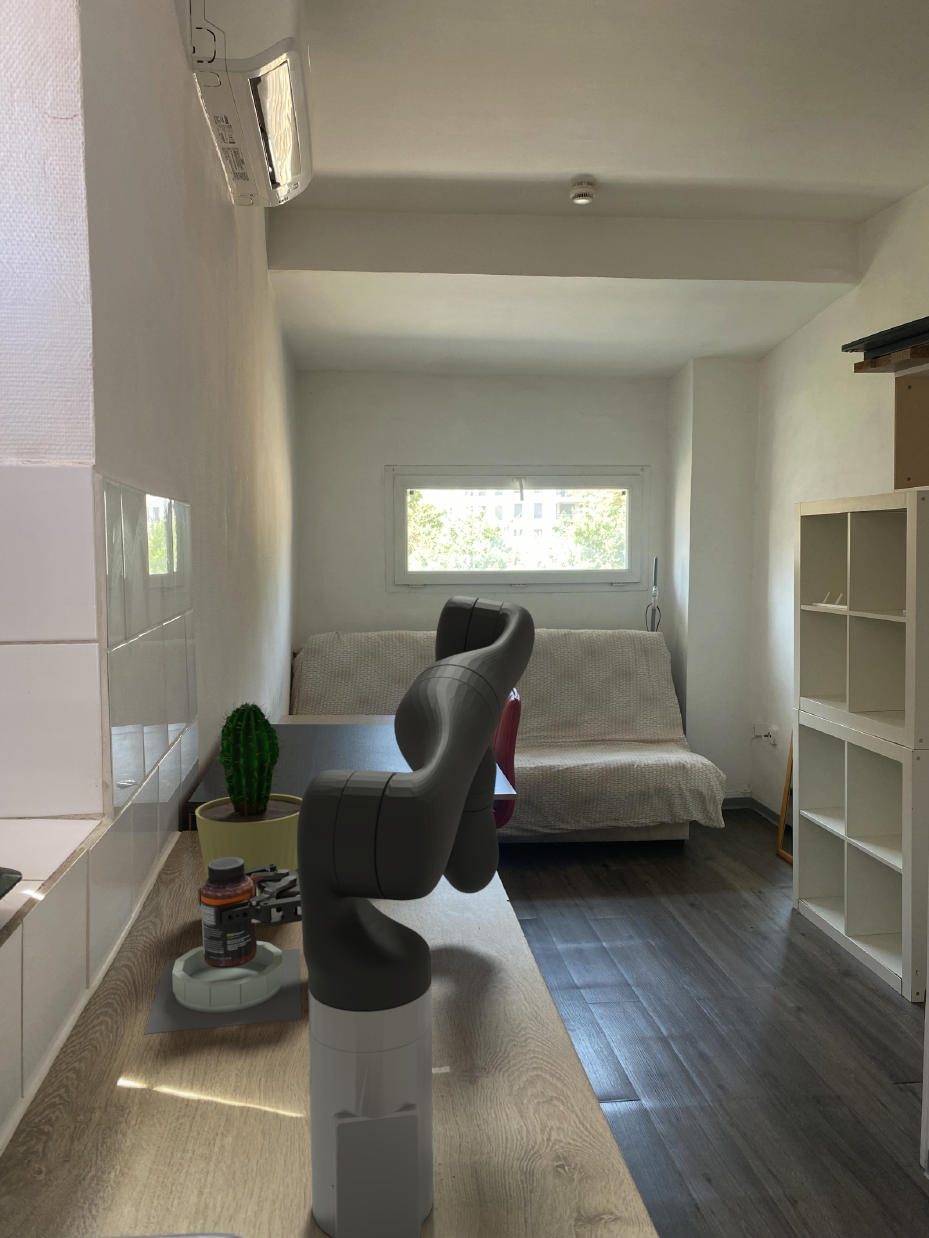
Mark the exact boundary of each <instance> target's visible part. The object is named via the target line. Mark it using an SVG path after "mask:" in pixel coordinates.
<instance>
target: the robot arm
mask: <svg viewBox="0 0 929 1238" xmlns="http://www.w3.org/2000/svg"><path fill="white" fill-rule="evenodd" d="M535 632H536V631H535V622H534V620H533V616H532V614H531V613H530V611H529V610H528V609H526V608H525V607H523V606H522V605H519V604H515V603H513V602H507V601H502V600H501V601H500V600H494V599H488V598H481V597H480V598H479V597H474V596H467V595H454V596H451V597H450V598H449V599H448V600H447V601H446V602H445V604H444V605H443V607H442V609H441V613H440V615H439V619H438V623H437V626H436V635H435V645H434V646H435V649H434V651H435V657H434V658H435V662H434V663H432V664H431V665H429V666H428V667H426V668H425V669H424V670H422V671H421V673H419V675H418V676H417V677H416V678H415V680H414V681H413V683H412V684H411V686H410V687H409V688H408V690H407V691H406V693H405V694H404V695H403V697H402V698H401V701H400V703H399V704H398V706H397V709H396V713H395V715H394V720H393V721H394V722H393V727H394V728H393V729H394V732H393V733H394V735H395V741H396V743H397V747H398V749H399V751H400V754H401V755H402V757H403V759H404V760H405V762H406V764H407V765H408V767H409V768H410V770H411V771H410V772H409V771H408V772H404V771H402V772H400V771H383V770H382V771H381V770H380V771H379V770H363V769H361V770H360V769H359V770H358V769H343V768H342V769H326V770H323V771H321V772H319V773H317V774H316V775H314V776H313V778H312V779H311V780H310V782H309V783H308V785H307V786H306V788H305V790H304V793H303V794H302V795H303V796H302V801H301V805H300V810H299V816H298V824H297V861H298V869H297V870H295V871H294V870H290V871H289V870H287V869H280V870H277V864H275V863H270V864H267V865H263V866H259V867H255V868H251V869H247V870H245V872H244V873H245V875H246V876H249V877H250V878H251V879H252V881H253V884H254V894H255V897H254V898H251V899H250V903H248V900H247V899H246V900H241V901H237V902H232V903H227V904H222V905H218V906H216V907H215V908H214V923H215V925H216V926H217V927H223V926H227V925H232V924H236V923H240V922H245V921H249V920H250V922H252V923H256V924H258V923H257V922H260V921H261V923H260V927H262V928H268V927H274V926H279V925H286V924H292V923H298V922H301V929H302V930H301V931H302V932H301V933H302V934H301V935H302V950H303V957H304V961H305V964H306V968H307V974H308V975H307V979H308V981H307V982H308V989H307V990H308V1045H309V1046H308V1048H309V1049H308V1050H309V1052H308V1053H309V1056H308V1057H309V1058H308V1059H309V1106H310V1108H309V1110H310V1111H309V1112H310V1115H309V1117H310V1159H311V1160H310V1161H311V1163H310V1164H311V1166H310V1167H311V1202H312V1215H313V1218H314V1220H315V1222H316V1223H317V1225H318V1226H319V1227H320V1229H321V1230H323V1232H325V1233H326V1234H328V1235H329V1236H330V1237H331V1238H421V1237H422V1224H423V1223H424V1222H425V1220H426V1219H427V1217H428V1216H429V1214H430V1213H431V1210H432V1207H433V1206H434V1205H433V1203H434V1145H433V1143H434V1142H433V1141H434V1140H433V1137H434V1135H433V1134H434V1133H433V1131H434V1130H433V1129H434V1128H433V1038H432V1037H433V1033H432V1032H433V1029H432V1027H433V1025H432V1023H433V1022H432V1021H433V1019H432V1018H433V1015H432V1014H433V1012H432V1011H433V1004H432V1003H433V1001H432V999H433V997H432V993H433V992H432V990H433V989H432V987H433V986H432V984H433V983H432V979H433V977H432V973H433V971H432V968H433V967H432V954H431V947H430V946H429V944H428V942H427V941H426V939H425V938H424V937H423V936H422V935H421V934H420V933H418V932H417V931H415V930H414V929H412V928H410V927H408V926H406V925H405V924H402V923H400V922H399V921H397V920H395V919H393V918H391V917H389V916H388V915H387V914H385V913H383V912H382V911H381V910H380V909H379V908H377V907H376V906H375V905H374V904H377V903H379V902H382V901H386V900H388V901H401V902H403V901H414V900H419V899H423V898H425V897H427V896H429V895H430V894H431V893H432V892H433V891H434V890H435V888H436V887H437V886H438V884H439V882H440V881H441V878H442V877H443V876H444V878H445V880H447V882H448V883H449V885H450V886H451V887H453V888H454V889H455V890H457V892H460V893H463V894H475V893H478V892H481V891H483V890H484V889H485V888H486V887H487V886H488V885H489V884H490V883H491V882H492V880H493V879H494V877H495V876H496V875H495V874H496V872H497V870H498V867H499V861H500V850H499V849H500V848H499V839H498V831H497V824H496V819H495V815H494V808H493V807H494V801H495V792H496V783H497V782H496V781H497V774H498V773H497V772H498V765H497V758H496V754H495V750H494V747H493V744H492V743H491V742H492V739H493V738H494V734H495V732H496V730H497V728H498V726H499V722H500V720H501V716H502V714H503V711H504V708H505V705H506V702H507V701H508V698H509V696H510V694H511V693H512V691H513V690H514V689H515V687H516V686H517V684H518V682H519V681H520V680H521V678H522V677H523V675H524V673H525V671H526V669H527V667H528V664H529V662H530V659H531V656H532V654H533V650H534V645H535V639H536V638H535V636H536V633H535ZM259 889H260V895H259V894H258V890H259ZM197 899H198V901H197V902H198V905H199V906H200V907H201V887H200V888H198V891H197Z"/></svg>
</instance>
